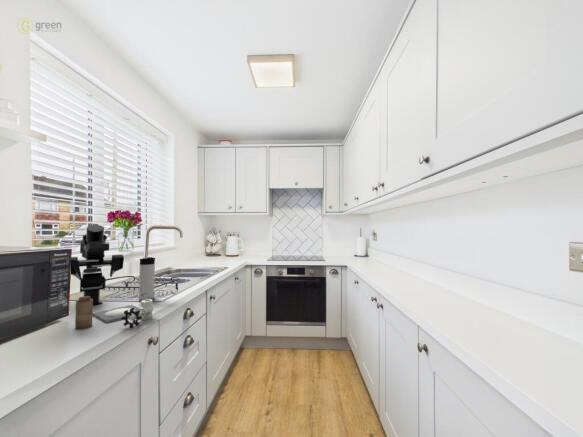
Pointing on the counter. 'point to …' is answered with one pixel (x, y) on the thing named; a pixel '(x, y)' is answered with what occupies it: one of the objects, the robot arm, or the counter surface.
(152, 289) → the travel mug
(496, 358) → the counter surface
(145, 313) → the valve
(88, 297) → the pepper mill
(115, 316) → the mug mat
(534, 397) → the counter surface
